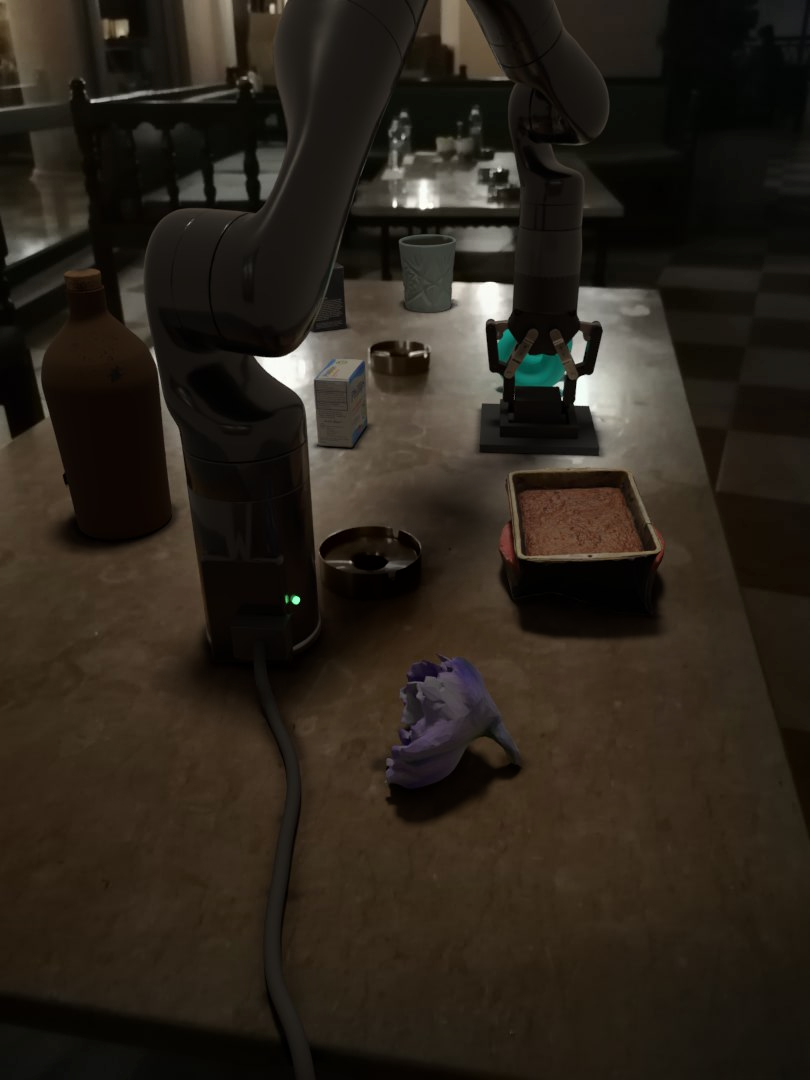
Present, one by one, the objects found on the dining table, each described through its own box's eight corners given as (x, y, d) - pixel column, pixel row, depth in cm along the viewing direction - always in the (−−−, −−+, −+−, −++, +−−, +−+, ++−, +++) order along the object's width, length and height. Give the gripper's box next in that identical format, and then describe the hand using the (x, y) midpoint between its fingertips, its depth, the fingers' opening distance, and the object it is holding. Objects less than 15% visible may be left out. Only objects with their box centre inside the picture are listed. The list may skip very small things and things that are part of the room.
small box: (292, 317, 161) (287, 257, 156) (326, 313, 164) (323, 253, 159) (312, 332, 153) (308, 269, 148) (348, 328, 155) (345, 265, 150)
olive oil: (199, 507, 96) (166, 264, 84) (133, 552, 87) (87, 290, 75) (119, 489, 99) (77, 256, 87) (48, 531, 91) (-8, 279, 79)
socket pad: (598, 455, 107) (600, 435, 105) (479, 452, 108) (480, 432, 107) (588, 412, 119) (590, 394, 118) (481, 410, 120) (482, 392, 119)
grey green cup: (464, 304, 168) (465, 237, 163) (437, 316, 161) (437, 247, 155) (418, 297, 173) (417, 232, 167) (389, 309, 166) (387, 241, 160)
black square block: (559, 433, 110) (562, 401, 108) (514, 431, 111) (515, 400, 109) (557, 416, 115) (559, 386, 113) (513, 415, 115) (515, 385, 113)
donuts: (492, 393, 126) (494, 321, 121) (502, 370, 134) (505, 303, 129) (564, 398, 124) (570, 326, 119) (570, 375, 132) (576, 306, 127)
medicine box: (352, 449, 109) (349, 379, 105) (317, 446, 110) (312, 377, 106) (368, 425, 116) (366, 359, 112) (334, 422, 116) (331, 357, 112)
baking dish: (488, 637, 78) (501, 546, 71) (499, 515, 92) (510, 430, 85) (658, 658, 77) (686, 568, 70) (642, 531, 91) (665, 447, 84)
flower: (545, 646, 62) (417, 612, 58) (562, 766, 56) (424, 737, 53) (473, 703, 68) (353, 676, 64) (483, 815, 63) (353, 793, 59)
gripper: (483, 273, 101) (479, 415, 109) (614, 275, 100) (600, 418, 108) (484, 259, 107) (480, 394, 116) (607, 260, 106) (594, 396, 114)
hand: (538, 405), depth 112 cm, fingers open, 6 cm apart
